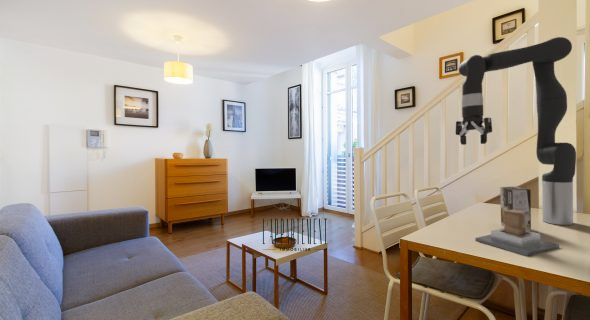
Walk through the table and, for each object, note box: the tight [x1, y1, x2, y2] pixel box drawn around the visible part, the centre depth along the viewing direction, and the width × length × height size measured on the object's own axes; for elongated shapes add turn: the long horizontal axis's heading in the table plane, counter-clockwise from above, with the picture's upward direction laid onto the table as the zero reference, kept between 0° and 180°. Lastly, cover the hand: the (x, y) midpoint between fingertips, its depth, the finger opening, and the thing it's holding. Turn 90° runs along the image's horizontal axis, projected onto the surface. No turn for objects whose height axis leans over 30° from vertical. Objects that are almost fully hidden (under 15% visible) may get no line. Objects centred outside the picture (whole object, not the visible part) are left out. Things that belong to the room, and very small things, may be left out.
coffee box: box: [499, 186, 532, 232], centre depth 109 cm, size 9×6×16 cm
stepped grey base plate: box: [474, 227, 560, 257], centre depth 92 cm, size 16×16×4 cm
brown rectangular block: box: [504, 210, 526, 236], centre depth 92 cm, size 4×4×10 cm
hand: (473, 144), depth 116 cm, fingers open, 8 cm apart
